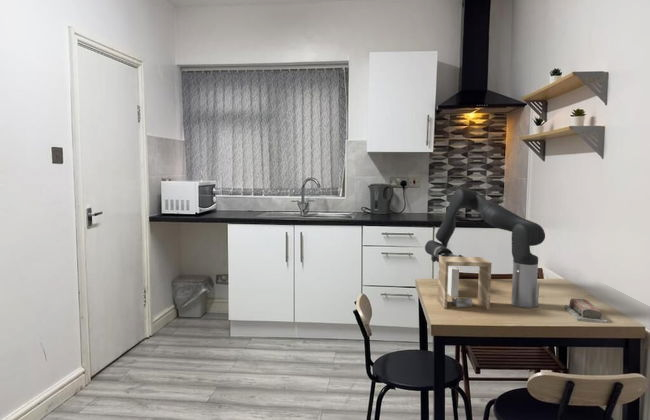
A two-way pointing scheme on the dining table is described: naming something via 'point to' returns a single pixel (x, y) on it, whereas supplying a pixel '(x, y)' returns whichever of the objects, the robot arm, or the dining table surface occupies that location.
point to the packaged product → (584, 311)
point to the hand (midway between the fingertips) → (451, 261)
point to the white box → (453, 281)
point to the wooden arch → (483, 281)
